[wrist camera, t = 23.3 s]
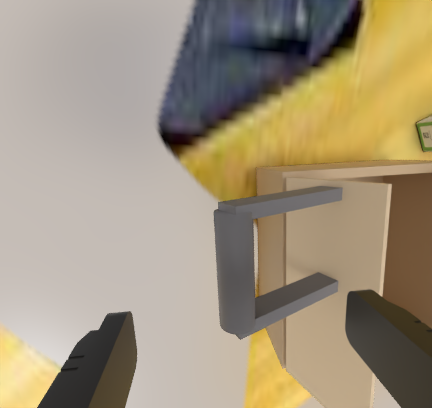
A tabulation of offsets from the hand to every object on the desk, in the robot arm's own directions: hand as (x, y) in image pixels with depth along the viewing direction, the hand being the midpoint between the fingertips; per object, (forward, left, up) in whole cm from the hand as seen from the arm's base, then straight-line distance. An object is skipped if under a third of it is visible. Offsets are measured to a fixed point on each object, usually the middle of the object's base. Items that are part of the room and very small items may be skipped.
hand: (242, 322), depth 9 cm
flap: (+5, +8, -8) cm, 12 cm away
